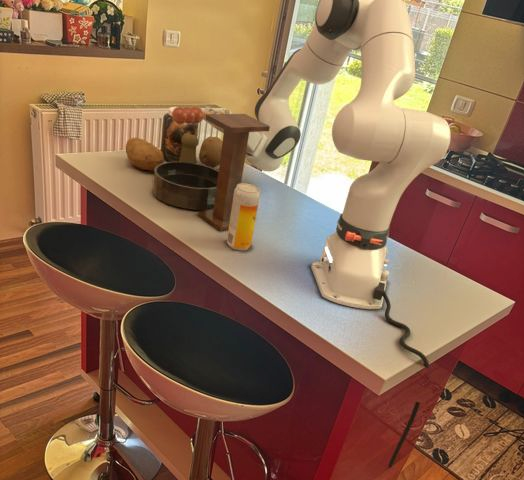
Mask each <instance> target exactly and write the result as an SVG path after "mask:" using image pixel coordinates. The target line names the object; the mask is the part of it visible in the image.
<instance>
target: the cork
mask: <svg viewBox="0 0 524 480" xmlns="http://www.w3.org/2000/svg"><path fill="white" fill-rule="evenodd" d="M181 142H182V145H183V146H182V150H181V155H180V159H179V162H191V163H197V148H198V147H197V146H198V144H199V137H196V136H195V135H192V134H184V135H183V136H182V138H181Z"/></svg>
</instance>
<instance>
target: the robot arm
mask: <svg viewBox="0 0 524 480" xmlns="http://www.w3.org/2000/svg"><path fill="white" fill-rule="evenodd" d="M314 17H315V19H314V21H315V24H314V25H313V27H312V30H311V31H310V33H309V35H308V36H307V39H306V41H305V42H304V44H303V45H302V46H301V47H300V48H298V49H296V50H295V51H294V52H293V53H292V54H291V55H290V56H289V58H288V59H287V60H286V62H285V63H284V65H283V67H282V68H281V69H280V72H279V73H278V74H277V76H276V78H275V79H274V81H273V82H272V84H271V85H270V86H269V88H268V89H267V91H266V92H265V93H264V94H263V95H262V96H260V98H259V99H258V100H257V102H256V103H255V106H254V116H255V119H256V120H258V121H260V122H262V123H264V124H266V125H268V126H270V129H269V131H262V132H249V137H248V143H247V150H246V156H245V160H246V161H247V162H248V163H250V164H251V165H252V166H254V167H255V168H257V169H259V170H260V171H263V172H275V171H276V170H277V169H279V168H280V167H281V165H282V164H283V162H284V158H285V156H287V155H289V153H291V152H292V151H293V150H294V149H295V148H296V147H297V146H298V144H299V142H300V140H301V135H302V133H301V132H302V131H301V130H300V128H299V125H298V123H297V121H296V119H295V117H294V115H293V113H292V110H291V108H290V102H289V100H290V97H291V95H292V94H293V92H294V91H295V89H296V88H297V86H298V85H299V83H300V82H301V81H305V82H307V83H309V84H313V85H325V84H328V83H330V82H332V81H333V80H334V79H335V78H336V77H337V75H338V74H339V73H340V70H341V69H342V68H343V65H344V64H345V62H346V61H347V58H348V56H349V55H350V52H351V51H356V52H358V53H360V65H361V69H360V71H361V74H360V75H361V76H360V77H361V78H360V87H359V90H358V92H357V95H356V96H355V97H354V98H353V99H352V100H351V101H350V102H349V103H347V104H345V105H344V106H343V107H341V109H340V110H339V111H338V112H337V114H336V116H335V118H334V120H333V124H332V127H331V137H332V142H333V144H334V148H335V149H336V150H337V151H338V153H340V154H343V155H345V156H347V157H350V158H354V159H356V160H361V161H368V162H369V161H370V162H376V163H378V164H377V165H376V167H374V168H372V170H371V171H369V172H366V173H365V174H363V175H360V176H358V177H357V178H355V180H354V181H352V183H351V184H350V186H349V189H348V193H347V197H346V200H345V203H344V207H343V210H342V213H341V214H340V215H339V217H338V219H337V223H336V228H335V232H334V233H332V234H330V235H329V236H327V237H326V240H325V242H324V243H325V244H324V246H323V250H322V253H321V256H320V259H319V261H315V262H312V263H311V266H310V268H311V271H312V274H313V276H314V280H315V282H316V284H317V287H318V290H319V293H320V295H321V297H323V298H324V299H326V300H328V301H330V302H332V303H335V304H339V305H342V306H346V307H351V308H356V309H362V310H381V308H382V307H383V303H384V301H385V306H386V308H385V311H384V317H385V319H386V321H387V322H389V324H391V325H393V326H396V327H399V328H401V329H403V330H405V333H404V334H403V335H402V336H401V337H400V339H399V344H400V345H401V347H402V348H403V349H404V350H406V351H408V352H409V353H411V354H413V355H416V356H418V357H419V358H420V359H421V360H422V361H423V364H424V367H425V369H429V370H430V368H431V367H430V362H429V360H428V357H426V355H425V354H424V353H423V352H421V351H419V350H418V349H416V348H414V347H412V346H410V345H408V344H406V342H405V340H406V339H407V338H408V337H410V335H411V329H410V327H408V326H407V325H406V324H404V323H402V322H399V321H396V320H395V319H393V318H391V316H390V312H391V306H392V305H391V301H390V299H389V296H388V295H387V293H386V287H387V282H388V277H389V275H390V271H389V270H386V269H384V266H385V267H387V266H388V264H389V261H390V259H388V258H386V257H387V254H388V251H389V249H388V247H387V246H386V245H387V241H388V239H389V235H390V230H391V227H390V224H391V222H392V219H393V216H394V214H395V211H396V208H397V206H398V204H399V201H400V199H401V197H402V195H403V194H404V192H405V191H406V189H407V188H408V186H409V185H410V184H411V183H412V182H413V181H414V180H415V179H416V178H417V177H418V176H419V175H420V174H421V173H422V172H424V171H425V170H426V169H428V168H430V167H432V166H434V165H436V164H438V163H439V162H440V161H441V160H442V159H443V158H444V156H445V155H446V154H447V152H448V150H449V147H450V143H451V138H452V137H451V128H450V125H449V123H448V121H447V120H446V119H445V118H443V117H441V116H438V115H436V114H435V113H432V112H428V111H426V110H419V109H411V108H406V107H400V106H397V105H396V104H395V100H398V99H400V98H401V97H403V96H404V95H406V94H407V93H408V92H409V91H410V89H412V87H413V84H414V81H415V79H416V60H415V42H414V35H413V34H414V33H413V28H412V23H411V18H410V13H409V11H408V8H407V5H406V3H405V2H404V0H319V1H318V4H317V6H316V10H315V15H314ZM202 111H203V112H210V111H217V110H216V109H214V108H212V107H210V106H208V105H207V106H205V108H204V110H202ZM214 114H220V113H219V112H215V113H214ZM202 121H204V122H206V123H207V124H209V126H211V127H212V128H214V129H215V130H217V131H219V132H220V133H222V134H224V129H222V128H221V127H219V126H217V125H215V124H213V123H211V122H209V121H208V120H206V118H203V120H202ZM420 405H421V402H420V401H415V403H414V406H413V409H412V412H411V414H410V416H409V419H408V422H407V424H406V426H405V427H404V430H403V433H402V435H401V436H400V438H399V440H398V442H397V445H396V446H395V449H394V451H393V454H392V455H391V458H390V460H389V463H388V468H390V469H391V468H393V466H394V465H395V461H396V459H397V457H398V454H399V452H400V451H401V448H402V446H403V444H404V442H405V440H406V438H407V436H408V434H409V432H410V430H411V428H412V426H413V423H414V421H415V419H416V416H417V413H418V411H419V408H420Z"/></svg>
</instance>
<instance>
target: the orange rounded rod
mask: <svg viewBox="0 0 524 480" xmlns="http://www.w3.org/2000/svg"><path fill="white" fill-rule="evenodd" d="M175 107H176V108H175V109H174V110H173V112H172V118H173V120H174V121H175V122H176V123H178V124H182V123H184V122H185V123H188V124H189V123H192V122H193V123H199V124H200V123H201V122H202V121H204V120H203V118H206V114H214V113H215V112H219V113H220V114H226V112H224V111H221V110H220V111H219V110H218V111H217V110H216V111H210V112H203V111H204V110H203V109H202V108H200V107H199V106H192V107H191V106H184V107H183V106H175Z"/></svg>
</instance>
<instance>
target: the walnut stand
mask: <svg viewBox="0 0 524 480" xmlns="http://www.w3.org/2000/svg"><path fill="white" fill-rule="evenodd" d="M206 120H208V121H209V122H211V123H213V124H215V125H217V126H219V127H221V128H222V129H224V133H223V136H222V141H223V142H222V150H221V157H220V165H218V171H219V172H218V180H217V188H216V195H215V203H214V209H207V210H198V211H197V216H198V218H201V219H202V220H203V221H205V222H206V223H207V224H209V225H211V226H212V227H213V228H215V229H216V230H217V231H219V232H223V231H228V229H229V222H230V216H231V209H232V202H233V196H234V190H235V188H236V187H237V185H238V184H241V183H242V180H243V174H244V173H243V172H244V168H245V163H246V158H245V156H246V150H247V143H248V137H249V132H262V131H269V129H270V126H268V125H266V124H264V123H262V122H260V121H258V120H257V118H255V117H252V116H250V115H248V114H246V113H225V114H206Z"/></svg>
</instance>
